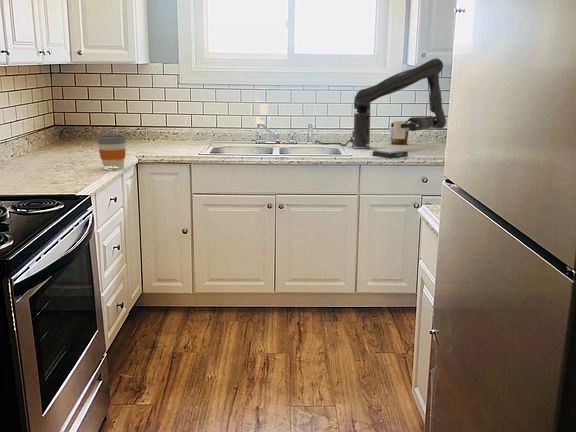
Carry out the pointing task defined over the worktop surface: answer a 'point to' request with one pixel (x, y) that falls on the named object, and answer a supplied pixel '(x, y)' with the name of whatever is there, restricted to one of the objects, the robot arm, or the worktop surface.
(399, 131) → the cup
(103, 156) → the reusable coffee cup
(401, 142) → the food container
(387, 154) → the scale
